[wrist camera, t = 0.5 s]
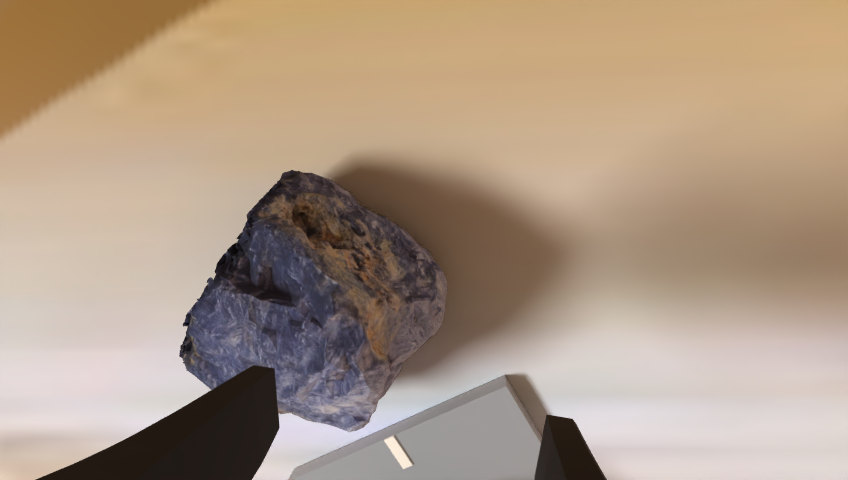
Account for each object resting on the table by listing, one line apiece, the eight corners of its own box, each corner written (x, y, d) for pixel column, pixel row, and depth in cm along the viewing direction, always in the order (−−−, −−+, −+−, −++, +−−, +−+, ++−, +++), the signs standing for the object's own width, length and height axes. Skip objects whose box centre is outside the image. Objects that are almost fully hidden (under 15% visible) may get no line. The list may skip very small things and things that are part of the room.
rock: (248, 129, 18) (199, 301, 11) (446, 210, 23) (511, 369, 15) (184, 297, 23) (119, 495, 16) (358, 335, 28) (373, 502, 20)
